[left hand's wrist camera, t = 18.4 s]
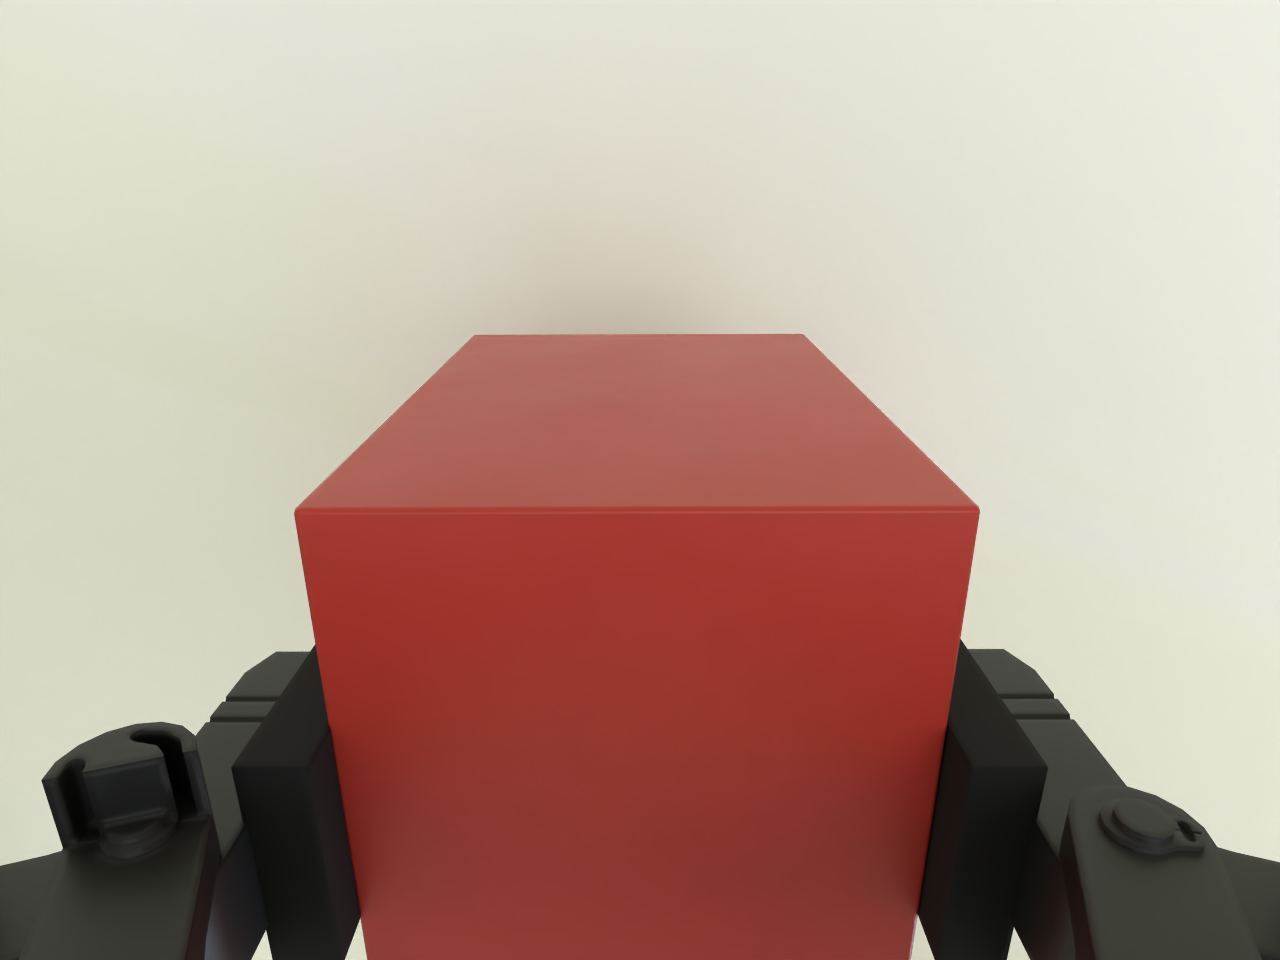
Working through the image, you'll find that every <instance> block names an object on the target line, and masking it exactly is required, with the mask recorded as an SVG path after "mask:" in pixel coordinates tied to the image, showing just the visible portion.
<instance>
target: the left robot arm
mask: <svg viewBox="0 0 1280 960" xmlns="http://www.w3.org/2000/svg"><path fill="white" fill-rule="evenodd" d="M41 781H42V784H43V787H44V790H45V793H46V796H47V799H48V803H49V806H50V809H51V812H52V815H53V818H54V821H55V824H56V827H57V831H58V834H59V837H60V840H61V843H62V846H63V849H62V851H60V852H56V853H53V854H50V855H46V856H42V857H37V858H33V859H29V860H24V861H20V862H15V863H11V864H7V865H2V866H0V960H251V959H252V957H253V955H254V953H255V951H256V949H257V947H258V945H259V943H260V941H261V939H262V937H263V935H264V933H265V931H267V936H268V940H269V945H270V949H271V954H272V959H273V960H345V957H346V955H347V952H348V949H349V947H350V944H351V941H352V939H353V936H354V933H355V931H356V928H357V925H358V923H359V920H360V917H361V916H360V910H359V903H358V897H357V891H356V885H355V879H354V872H353V866H352V860H351V854H350V847H349V841H348V835H347V829H346V823H345V816H344V810H343V804H342V798H341V791H340V785H339V779H338V773H337V767H336V760H335V754H334V748H333V742H332V735H331V729H330V726H329V723H328V717H327V710H326V704H325V698H324V692H323V686H322V680H321V674H320V668H319V662H318V656H317V650H316V644H315V646H314V647H313V648H312V650H311V651H310V652H275V653H274V654H272V655H271V656H269V657H268V658H266V659H265V660H263V661H262V662H260V663H259V664H257V665H256V666H254V667H253V668H251V669H250V670H248V671H247V672H245V674H244V675H243V676H242V677H241V679H240V680H239V681H238V683H237V684H236V685H235V686H234V688H233V689H232V690H231V691H230V693H229V694H228V695H227V696H226V702H222V703H221V704H220V705H219V707H218V708H217V709H216V710H215V712H214V713H213V714H212V716H211V717H210V722H206V723H205V724H204V726H203V727H202V728H201V730H200V731H199V732H198V733H197V735H196V736H195V735H194V734H192V733H191V732H190V731H188V730H187V729H186V728H185V727H183V726H181V725H176V724H170V723H165V722H154V723H142V724H134V725H130V726H127V727H123V728H120V729H116V730H112V731H109V732H106V733H104V734H101V735H99V736H97V737H95V738H93V739H91V740H89V741H87V742H84V743H82V744H80V745H78V746H77V747H76V748H74V749H73V750H71V751H70V752H69V753H67V754H66V755H65V756H63V757H62V758H60V759H59V760H58V761H56V762H55V763H54V765H53V766H52V767H51V769H50V770H49V771H48V772H47V774H46V775H45V776H44V778H43V779H42V780H41ZM918 916H919V919H920V921H921V924H922V927H923V929H924V932H925V935H926V937H927V940H928V943H929V945H930V948H931V951H932V953H933V956H934V959H935V960H1007V956H1008V951H1009V947H1010V942H1011V937H1012V933H1013V928H1015V930H1016V932H1017V934H1018V936H1019V938H1020V940H1021V942H1022V944H1023V946H1024V948H1025V950H1026V952H1027V954H1028V956H1029V958H1030V960H1280V862H1275V861H1271V860H1267V859H1262V858H1258V857H1253V856H1249V855H1245V854H1240V853H1236V852H1232V851H1229V850H1225V849H1222V848H1218V847H1217V846H1216V845H1215V843H1214V842H1213V840H1212V839H1211V837H1210V836H1209V834H1208V833H1207V831H1206V830H1205V828H1204V827H1203V826H1202V825H1200V824H1199V823H1198V822H1197V821H1196V820H1194V819H1193V818H1192V817H1191V816H1190V815H1188V814H1187V813H1186V812H1185V811H1183V810H1182V809H1180V808H1178V807H1177V806H1175V805H1173V804H1171V803H1169V802H1167V801H1165V800H1163V799H1162V798H1160V797H1158V796H1156V795H1153V794H1150V793H1146V792H1143V791H1140V790H1137V789H1134V788H1130V787H1127V786H1126V785H1125V783H1124V782H1123V781H1122V780H1121V778H1120V777H1119V776H1118V775H1117V773H1116V772H1115V771H1114V770H1113V768H1112V767H1111V766H1110V764H1109V763H1108V762H1107V761H1106V759H1105V758H1104V757H1103V756H1102V754H1101V753H1100V752H1099V751H1098V749H1097V748H1096V747H1095V746H1094V744H1093V743H1092V742H1091V740H1090V739H1089V738H1088V737H1087V735H1086V734H1085V733H1084V732H1083V730H1082V729H1081V728H1080V727H1079V725H1078V724H1077V723H1076V722H1075V720H1071V719H1070V714H1069V713H1068V711H1067V710H1066V709H1065V708H1064V706H1063V705H1062V704H1061V703H1060V701H1059V700H1058V699H1054V694H1053V693H1052V691H1051V690H1050V689H1049V687H1048V686H1047V685H1046V684H1045V682H1044V681H1043V680H1042V679H1041V677H1040V676H1039V675H1038V674H1037V672H1036V671H1035V670H1034V669H1032V668H1031V667H1029V666H1028V665H1026V664H1025V663H1023V662H1022V661H1020V660H1019V659H1018V658H1016V657H1015V656H1013V655H1012V654H1010V653H1009V652H1007V651H1006V650H1004V649H967V648H966V646H965V645H964V643H963V642H962V640H961V639H960V643H959V650H958V656H957V663H956V669H955V676H954V682H953V688H952V695H951V701H950V708H949V714H948V721H947V727H946V734H945V740H944V747H943V753H942V760H941V766H940V773H939V779H938V786H937V792H936V799H935V805H934V811H933V818H932V824H931V831H930V837H929V844H928V850H927V857H926V863H925V870H924V876H923V883H922V889H921V896H920V902H919V909H918Z"/></svg>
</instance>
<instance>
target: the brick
mask: <svg viewBox="0 0 1280 960" xmlns="http://www.w3.org/2000/svg"><path fill="white" fill-rule="evenodd" d="M979 514H980V510H979V507H978V506H977V505H976V504H975V503H974V502H973V501H972V500H971V499H970V498H969V497H968V496H967V495H966V494H965V493H964V492H963V491H962V490H961V489H960V488H959V487H958V486H957V485H956V484H955V483H954V482H953V481H952V480H951V479H950V478H949V477H948V476H947V475H946V474H945V473H944V472H943V471H942V470H941V469H939V468H938V467H937V466H936V465H935V464H934V463H933V462H932V461H931V460H930V459H929V458H928V457H927V456H926V455H925V454H924V453H923V452H922V451H921V450H920V449H919V448H918V447H917V446H916V445H915V444H914V443H913V442H912V441H911V440H910V439H909V438H908V437H907V436H906V435H905V434H904V433H903V432H902V431H901V430H900V429H899V428H898V427H897V426H896V425H895V424H894V423H893V422H892V421H891V420H890V419H889V418H888V417H887V416H886V415H885V414H884V413H883V412H882V411H881V410H880V409H878V408H877V407H876V406H875V405H874V404H873V403H872V402H871V401H870V400H869V399H868V398H867V397H866V396H865V395H864V394H863V393H862V392H861V391H860V390H859V389H858V388H857V387H856V386H855V385H854V384H853V383H852V382H851V381H850V380H849V379H848V378H847V377H846V376H845V375H844V374H843V373H842V372H841V371H840V370H839V369H838V368H837V367H836V366H835V365H834V364H833V363H832V362H831V361H830V360H829V359H828V358H827V357H826V356H825V355H824V354H823V353H822V352H821V351H820V350H819V349H818V348H816V347H815V346H814V345H813V344H812V343H811V342H810V341H809V340H808V339H807V338H806V337H805V336H804V335H803V334H662V335H475V336H473V337H472V338H471V339H470V340H469V341H468V342H467V343H466V344H465V345H464V346H463V347H462V348H461V349H460V350H459V351H458V352H457V353H456V354H455V355H453V356H452V357H451V358H450V359H449V360H448V361H447V362H446V363H445V364H444V365H443V366H442V367H441V368H440V369H439V370H438V371H437V372H436V373H435V374H434V375H433V376H432V377H431V378H430V379H429V380H428V381H427V382H426V383H425V384H424V385H423V386H422V387H421V388H419V389H418V390H417V391H416V392H415V393H414V394H413V395H412V396H411V397H410V398H409V399H408V400H407V401H406V402H405V403H404V404H403V405H402V406H401V407H400V408H399V409H398V410H397V411H396V412H395V413H394V414H393V415H392V416H391V417H390V418H389V419H388V420H386V421H385V422H384V423H383V424H382V425H381V426H380V427H379V428H378V429H377V430H376V431H375V432H374V433H373V434H372V435H371V436H370V437H369V438H368V439H367V440H366V441H365V442H364V443H363V444H362V445H361V446H360V447H359V448H358V449H357V450H356V451H355V452H353V453H352V454H351V455H350V456H349V457H348V458H347V459H346V460H345V461H344V462H343V463H342V464H341V465H340V466H339V467H338V468H337V469H336V470H335V471H334V472H333V473H332V474H331V475H330V476H329V477H328V478H327V479H326V480H325V481H324V482H323V483H322V484H320V485H319V486H318V487H317V488H316V489H315V490H314V491H313V492H312V493H311V494H310V495H309V496H308V497H307V498H306V499H305V500H304V501H303V502H302V503H301V504H300V505H299V506H298V507H297V508H296V509H295V512H294V516H295V522H296V528H297V534H298V540H299V546H300V552H301V558H302V564H303V570H304V576H305V583H306V589H307V595H308V601H309V607H310V613H311V619H312V625H313V631H314V637H315V643H316V650H317V656H318V662H319V668H320V674H321V680H322V686H323V692H324V698H325V704H326V710H327V717H328V723H329V726H330V729H331V735H332V742H333V748H334V754H335V760H336V767H337V773H338V779H339V785H340V791H341V798H342V804H343V810H344V816H345V823H346V829H347V835H348V841H349V847H350V854H351V860H352V866H353V872H354V879H355V885H356V891H357V897H358V903H359V910H360V916H361V917H360V918H361V924H362V930H363V936H364V942H365V948H366V954H367V960H911V954H912V947H913V941H914V934H915V928H916V922H917V915H918V909H919V902H920V896H921V889H922V883H923V876H924V870H925V863H926V857H927V850H928V844H929V837H930V831H931V824H932V818H933V811H934V805H935V799H936V792H937V786H938V779H939V773H940V766H941V760H942V753H943V747H944V740H945V734H946V727H947V721H948V714H949V708H950V701H951V695H952V688H953V682H954V676H955V669H956V663H957V656H958V650H959V643H960V637H961V630H962V624H963V617H964V611H965V604H966V598H967V591H968V585H969V578H970V572H971V565H972V559H973V553H974V546H975V540H976V533H977V527H978V520H979Z"/></svg>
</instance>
